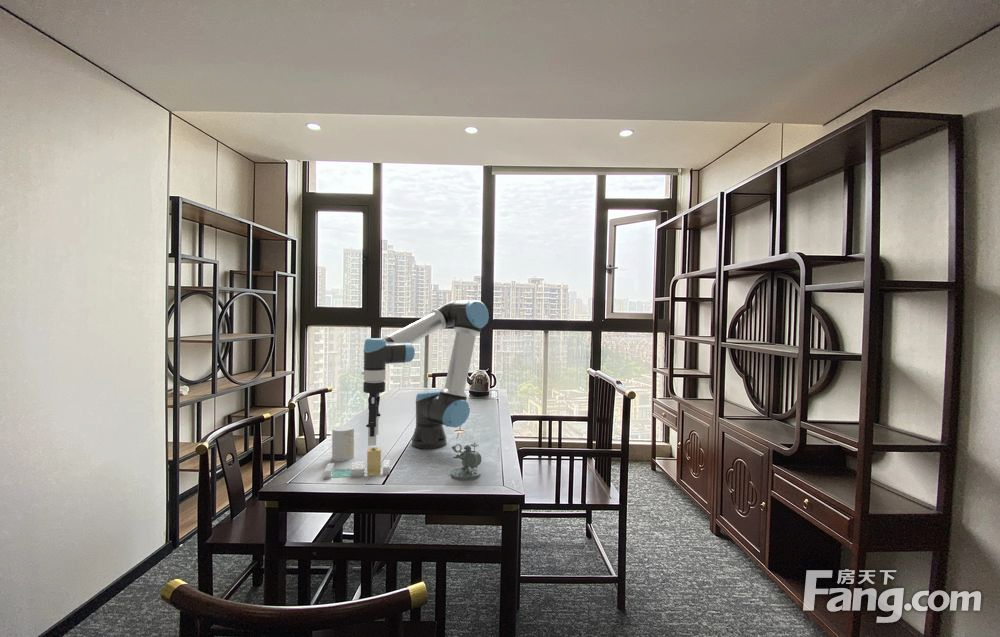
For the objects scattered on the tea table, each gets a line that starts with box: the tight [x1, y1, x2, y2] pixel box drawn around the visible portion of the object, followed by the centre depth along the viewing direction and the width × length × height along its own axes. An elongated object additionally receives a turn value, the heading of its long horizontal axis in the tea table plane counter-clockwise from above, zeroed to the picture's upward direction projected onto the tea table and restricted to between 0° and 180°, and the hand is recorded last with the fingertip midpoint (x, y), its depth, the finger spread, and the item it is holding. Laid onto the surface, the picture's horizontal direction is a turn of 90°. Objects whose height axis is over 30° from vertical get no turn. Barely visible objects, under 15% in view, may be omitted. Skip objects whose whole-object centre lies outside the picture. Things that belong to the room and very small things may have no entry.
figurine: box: [450, 442, 482, 481], centre depth 162 cm, size 11×11×12 cm
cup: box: [331, 425, 355, 462], centre depth 178 cm, size 8×8×12 cm
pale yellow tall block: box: [366, 446, 382, 474], centre depth 163 cm, size 4×4×8 cm
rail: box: [323, 459, 391, 480], centre depth 162 cm, size 22×8×3 cm, turn 102°
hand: (373, 439), depth 163 cm, fingers open, 13 cm apart
